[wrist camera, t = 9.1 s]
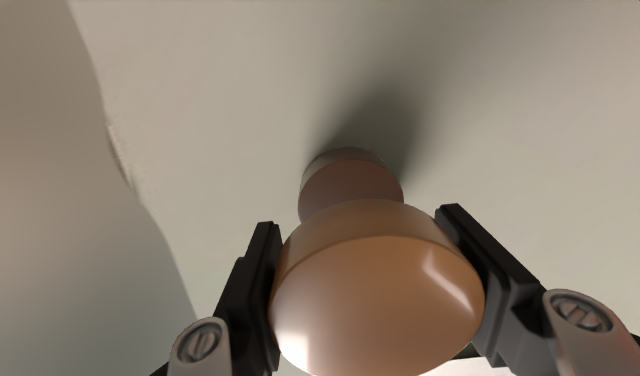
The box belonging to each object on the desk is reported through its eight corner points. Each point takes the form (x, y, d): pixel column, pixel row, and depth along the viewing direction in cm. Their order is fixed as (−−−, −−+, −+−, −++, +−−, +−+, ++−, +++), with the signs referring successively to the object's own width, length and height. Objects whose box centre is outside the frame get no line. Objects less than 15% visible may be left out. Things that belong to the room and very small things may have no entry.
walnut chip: (293, 152, 13) (289, 165, 11) (394, 141, 13) (406, 153, 11) (306, 234, 15) (305, 256, 14) (392, 226, 15) (402, 247, 13)
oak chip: (259, 208, 7) (242, 246, 6) (465, 188, 7) (508, 222, 6) (290, 339, 10) (285, 391, 8) (444, 327, 10) (469, 379, 8)
